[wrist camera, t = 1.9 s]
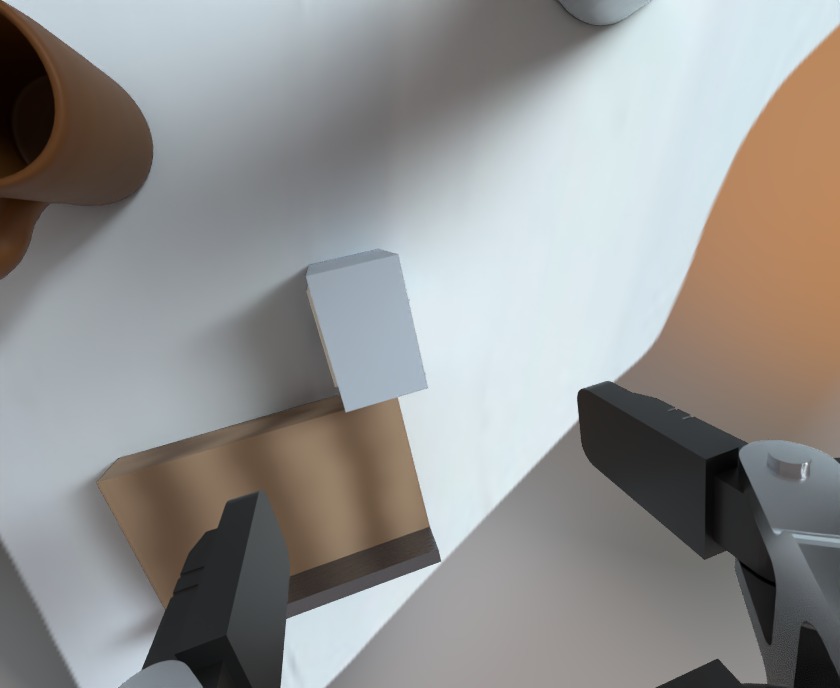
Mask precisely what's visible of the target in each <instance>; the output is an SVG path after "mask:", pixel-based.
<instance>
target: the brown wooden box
mask: <svg viewBox="0 0 840 688" xmlns="http://www.w3.org/2000/svg"><path fill="white" fill-rule="evenodd" d="M97 485H98V487H99V489H100V491H101V493H102V494H103V496H104V498H105V500H106V502H107V504H108V505H109V507H110V509H111V511H112V513H113V515H114V516H115V518H116V520H117V522H118V524H119V526H120V527H121V529H122V531H123V533H124V535H125V537H126V538H127V540H128V542H129V544H130V546H131V548H132V550H133V551H134V553H135V555H136V557H137V559H138V561H139V562H140V564H141V566H142V568H143V570H144V572H145V573H146V575H147V577H148V579H149V581H150V583H151V584H152V586H153V588H154V590H155V592H156V594H157V595H158V597H159V599H160V601H161V603H162V605H163V607H164V608H165V610H166V608H167V606H168V603H169V601H170V598H171V597H173V591H174V588H175V586H176V583H177V581H178V579H179V578H181V576H180V573H181V571H182V569H183V566H184V564H185V561H186V559H187V556H188V554H189V552H190V551H191V550H192V548H193V547H194V546H195V545H196V543H197V542H198V541H199V540H200V539H201V537H202V536H203V535H204V534H205V532H207V531H210V530H213V529H216V528H218V525H219V522H220V519H221V516H222V513H223V510H224V507H225V504H226V502H227V501H228V500H231V499H234V498H238V497H241V496H244V495H247V494H250V493H253V492H256V491H260V490H263V491H264V492H265V493H266V495H267V497H268V499H269V501H270V504H271V506H272V509H273V512H274V514H275V517H276V519H277V522H278V524H279V527H280V529H281V532H282V535H283V537H284V540H285V542H286V546H287V549H288V554H289V561H290V578H289V590H288V602H287V614H286V619H287V618H290V617H293V616H295V615H298V614H301V613H303V612H306V611H309V610H311V609H314V608H317V607H320V606H322V605H325V604H328V603H330V602H333V601H336V600H338V599H341V598H344V597H346V596H349V595H352V594H355V593H357V592H360V591H363V590H365V589H368V588H371V587H373V586H376V585H379V584H381V583H384V582H387V581H390V580H392V579H395V578H398V577H400V576H403V575H406V574H408V573H411V572H414V571H416V570H419V569H422V568H425V567H427V566H430V565H433V564H435V563H438V562H441V559H440V554H439V550H438V547H437V545H436V542H435V539H434V537H433V534H432V531H431V529H430V526H429V522H428V518H427V514H426V510H425V506H424V502H423V498H422V494H421V490H420V486H419V482H418V478H417V474H416V470H415V466H414V462H413V458H412V454H411V450H410V446H409V442H408V437H407V433H406V429H405V425H404V421H403V417H402V413H401V409H400V405H399V401H398V397H396V398H393V399H390V400H386V401H383V402H379V403H376V404H373V405H369V406H366V407H363V408H359V409H356V410H352V411H349V412H346V411H345V408H344V404H343V401H342V398H341V394H340V395H337V396H333V397H330V398H326V399H323V400H319V401H316V402H312V403H309V404H305V405H302V406H298V407H295V408H292V409H288V410H285V411H281V412H278V413H274V414H271V415H267V416H264V417H260V418H257V419H253V420H250V421H246V422H243V423H239V424H236V425H233V426H229V427H226V428H222V429H219V430H215V431H212V432H208V433H205V434H201V435H198V436H194V437H191V438H187V439H184V440H181V441H177V442H174V443H170V444H167V445H163V446H160V447H156V448H153V449H149V450H146V451H142V452H139V453H135V454H132V455H129V456H125V457H122V458H118V459H117V460H116V461H115V463H114V464H113V465H112V466H111V467H110V468H109V469H108V470H107V472H106V473H105V474H104V475H103V476H102V477H101V478H100V479H99V481H98V482H97Z"/></svg>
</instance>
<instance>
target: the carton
mask: <svg viewBox="0 0 840 688" xmlns="http://www.w3.org/2000/svg"><path fill="white" fill-rule="evenodd" d="M306 280H307V283H308V287H307V292H306V293H307V296H308V299H309V303H310V306H311V309H312V313H313V316H314V319H315V323H316V326H317V329H318V333H319V336H320V339H321V343H322V346H323V349H324V353H325V356H326V359H327V363H328V366H329V369H330V373H331V376H332V379H333V383H334V386H335V388H336V387H338V388H339V391H340V394H341V398H342V401H343V404H344V408H345V411H346V412H349V411H352V410H356V409H359V408H363V407H366V406H369V405H373V404H376V403H379V402H383V401H386V400H390V399H393V398H396V397H400V396H403V395H406V394H410V393H413V392H417V391H420V390H423V389H427V388H428V386H427V381H426V377H425V372H424V368H423V362H422V358H421V353H420V349H419V344H418V340H417V335H416V331H415V326H414V322H413V317H412V313H411V308H410V304H409V299H408V295H407V290H406V286H405V281H404V277H403V272H402V269H401V264H400V260H399V255H398V254H395V253H391V252H388V251H384V250H381V249H375V250H371V251H366V252H362V253H358V254H354V255H349V256H345V257H341V258H336V259H332V260H328V261H324V262H319V263H315V264H311V265H309V267H308V270H307V273H306Z"/></svg>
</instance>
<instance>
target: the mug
mask: <svg viewBox="0 0 840 688" xmlns="http://www.w3.org/2000/svg"><path fill="white" fill-rule="evenodd" d="M152 158H153V143H152V137H151V133H150V129H149V127H148V124H147V122H146V119H145V118H144V116H143V114H142V112H141V110H140V109H139V107H138V106H137V104H136V103H135V101H134V100H133V99H132V98H131V97H130V95H129V94H128V93H127V92H126V91H125V90H124V89H123V88H122V87H121V86H120V85H119V84H118V83H116V82H115V81H114V80H113V79H111V78H110V77H109V76H108V75H106V74H105V73H104V72H102V71H101V70H100V69H98V68H97V67H96V66H94V65H93V64H92V63H91V62H89V61H88V60H87V59H85V58H84V57H83V56H81V55H80V54H79V53H78V52H76V51H75V50H74V49H72V48H71V47H70V46H68V45H67V44H65V43H64V42H63V41H61V40H60V39H59V38H57V37H56V36H55V35H53V34H52V33H51V32H49V31H48V30H47V29H45V28H44V27H43V26H41V25H40V24H38V23H37V22H36V21H34V20H33V19H31V18H30V17H28V16H27V15H25V14H24V13H22V12H20V11H19V10H17V9H16V8H14V7H12V6H11V5H9V4H7V3H5V2H4V1H2V0H0V280H1V279H3V278H4V277H5V276H7V275H8V274H9V273H10V272H11V271H12V270H13V269H14V268H15V267H16V266H17V265H18V264H19V262H20V261H21V260H22V258H23V256H24V255H25V253H26V251H27V249H28V246H29V243H30V240H31V237H32V233H33V229H34V225H35V223H36V221H37V220H38V219H39V217H40V215H41V213H42V212H43V211H44V209H45V208H46V207H47V206H48V205H49V204H51V203H63V204H72V205H84V206H96V205H105V204H110V203H114V202H116V201H119V200H122V199H124V198H126V197H128V196H129V195H131V194H132V193H133V192H135V191H136V190H137V189H138V188H139V187H140V186H141V185H142V183H143V182H144V180H145V179H146V177H147V175H148V173H149V171H150V168H151V164H152Z"/></svg>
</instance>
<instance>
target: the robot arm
mask: <svg viewBox="0 0 840 688" xmlns="http://www.w3.org/2000/svg"><path fill="white" fill-rule="evenodd" d="M650 1H651V0H559V2H560V3H561V4H562V5H563V6H564V7H565V9H566V10H567V11H568V12H569V13H571V14H572V15H574V16H575V17H576V18H578V19H579V20H582V21H584V22H586V23H589V24H594V25H608V24H614V23H616V22H619V21H621V20H623V19H625V18H627V17H628V16H630V15H631V14H633V13H634V12H635V11H637V10H638V9H640V8H641V7H643V6H644V5H645V4H647V3H648V2H650ZM577 402H578V412H579V423H580V433H581V442H582V447H583V450H584V452H585V454H586V456H587V458H588V459H589V461H590V462H591V463H592V465H594V466H595V467H596V468H597V469H598V470H599V471H600V472H602V473H603V474H604V475H605V476H606V477H608V478H609V479H610V480H611V481H612V482H613V483H615V484H616V485H617V486H618V487H620V488H621V489H622V490H623V491H624V492H625V493H626V494H628V495H629V496H630V497H631V498H632V499H633V500H635V501H636V502H637V503H638V504H639V505H641V506H642V507H643V508H644V509H645V510H647V511H648V512H649V513H650V514H651V515H652V516H654V517H655V518H656V519H657V520H658V521H659V522H661V523H662V524H663V525H664V526H665V527H666V528H668V529H669V530H670V531H671V532H672V533H674V534H675V535H676V536H677V537H678V538H680V539H681V540H682V541H683V542H684V543H685V544H686V545H688V546H689V547H690V548H691V549H692V550H694V551H695V552H696V553H697V554H698V555H699V556H701V557H702V558H703V559H704V560H705V559H708V558H710V557H712V556H715V555H717V554H719V553H722V552H724V551H728V552H730V553H731V554H732V555H733V556H735V565H734V568H735V573H736V576H737V579H738V583H739V586H740V589H741V592H742V595H743V598H744V601H745V604H746V608H747V611H748V614H749V617H750V620H751V623H752V627H753V630H754V633H755V636H756V639H757V643H758V646H759V649H760V652H761V655H762V658H763V662H764V667H765V671H766V677H767V684H752V683H744V684H741V683H740V682H739V681H738V680H737V679H736V678H735V676H734V675H733V674H732V673H731V672H730V671H729V670H728V669H727V668H726V667H725V666H724V665H723V664H722V663H721V661H720V660H719V659H716V660H714V661H711V662H710V663H707V664H705V665H703V666H701V667H699V668H697V669H694V670H692V671H690V672H688V673H686V674H684V675H682V676H680V677H677V678H675V679H673V680H671V681H669V682H667V683H665V684H663V685H660V686H658V687H656V688H840V458H832V457H831V456H829V455H827V454H826V453H824V452H822V451H820V450H817V449H815V448H812V447H809V446H806V445H802V444H798V443H794V442H788V441H780V440H763V441H756V442H752V443H747V442H745V441H743V440H741V439H738V438H736V437H734V436H732V435H730V434H728V433H726V432H724V431H722V430H720V429H718V428H716V427H714V426H712V425H710V424H708V423H706V422H704V421H702V420H700V419H698V418H696V417H691V416H690V414H688V413H686V412H683V411H681V410H679V409H677V410H676V409H675V407H673V406H671V405H669V404H667V403H665V402H663V401H661V400H659V399H657V398H653V397H649V396H645V395H641V394H636V393H632V392H630V391H628V390H626V389H624V388H622V387H620V386H618V385H616V384H615V383H613V382H610V381H605V382H602V383H599V384H596V385H593V386H590V387H587V388H583V389H581V390H580V391H579V392H578V395H577ZM180 576H181V578H179V579H178V581H177V583H176V586H175V588H174V591H173V597H171V598H170V601H169V603H168V606H167V608H166V611H165V613H164V616H163V618H162V620H161V623H160V625H159V628H158V630H157V633H156V635H155V638H154V640H153V643H152V645H151V648H150V650H149V653H148V655H147V658H146V660H145V663H144V665H143V668H142V670H141V671H140V672H138V673H137V674H135V675H134V676H132V677H131V678H129V679H128V680H127V681H126V682H124V683H123V684H122V685H121V686H120V687H118V688H280V686H281V674H282V662H283V650H284V638H285V626H286V614H287V602H288V590H289V578H290V561H289V554H288V549H287V546H286V542H285V540H284V537H283V535H282V532H281V529H280V527H279V524H278V522H277V519H276V517H275V514H274V512H273V509H272V506H271V504H270V501H269V499H268V497H267V495H266V493H265V492H264V491H263V490H260V491H256V492H253V493H250V494H247V495H244V496H241V497H238V498H234V499H231V500H228V501H227V502H226V504H225V507H224V510H223V513H222V516H221V519H220V522H219V525H218V528H216V529H213V530H210V531H207V532H205V534H204V535H203V536H202V537H201V539H200V540H199V541H198V542H197V543H196V545H195V546H194V547H193V548H192V550H191V551H190V552H189V554H188V556H187V559H186V561H185V564H184V566H183V569H182V571H181V573H180Z"/></svg>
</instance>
